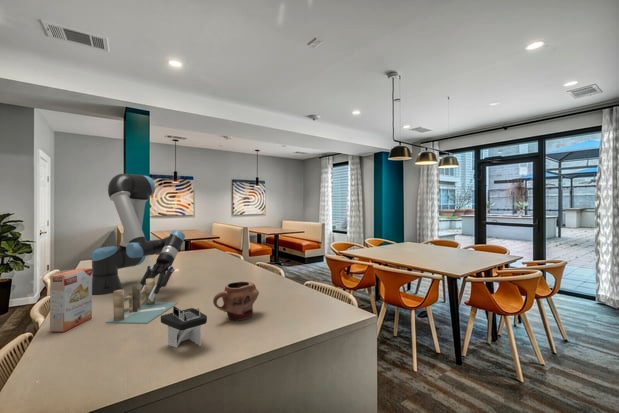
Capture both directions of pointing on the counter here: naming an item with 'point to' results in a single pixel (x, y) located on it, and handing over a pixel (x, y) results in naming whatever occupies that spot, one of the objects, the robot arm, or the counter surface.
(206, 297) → the counter surface
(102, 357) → the counter surface
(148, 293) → the fence panel
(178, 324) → the black-topped pedestal
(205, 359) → the counter surface
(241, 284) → the brown sculpted mug
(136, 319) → the card
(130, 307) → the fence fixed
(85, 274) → the cracker box
